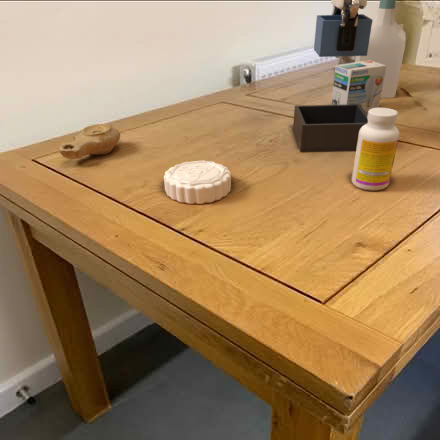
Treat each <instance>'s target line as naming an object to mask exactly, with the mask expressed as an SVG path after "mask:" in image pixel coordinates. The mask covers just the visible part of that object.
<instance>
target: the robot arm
mask: <svg viewBox="0 0 440 440" xmlns="http://www.w3.org/2000/svg"><path fill="white" fill-rule="evenodd" d="M330 3H331V4H332V12H331V15H341V26H339V29H338V37H337V46H336V50H337V51H353V50H354V44H355V37H356V30H357V22H358V14H359V10H364V9H365V8H366V7H367V4H368V0H330ZM345 15H346V17H345Z"/></svg>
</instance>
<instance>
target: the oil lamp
mask: <svg viewBox="0 0 440 440" xmlns="http://www.w3.org/2000/svg"><path fill="white" fill-rule="evenodd" d="M72 137H73V140H72V141H69V142H62V143H60V146H59V147H58V151H59V153H60V155H61V156H62V157H63V158H66V159H70V160H75V159H81V158H83V157H85V156H89V155H95V156H100V155H106V154H109V153H111V152H112V151H113V149H114V148H115V147H116V146H117V145H118V143H119V142H120V139H121V131H119V129H117V128H116V127H115V126H113V125H111V124H106V123H95V124H91V125H88V126H86V127H84V128H82V130H81V132H79V133H78V134H75V135H73V136H72Z"/></svg>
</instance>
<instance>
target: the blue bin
mask: <svg viewBox="0 0 440 440" xmlns="http://www.w3.org/2000/svg"><path fill="white" fill-rule="evenodd" d="M345 17H346V15H345ZM372 22H373V19H372V18H371V17H369V16H367V15H366V14H364V13H358V22H357V30H356V37H355V44H354V50H353V51H337V50H336V46H337V37H338V29H339V26H341V15H332V14H319V15H316V21H315V33H314V43H313V51H315V54H317V56H318V57H319V58H333V57H335V58H336V57H338V56H367V52H368V46H369V39H370V33H371V27H372Z"/></svg>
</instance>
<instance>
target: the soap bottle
mask: <svg viewBox="0 0 440 440" xmlns="http://www.w3.org/2000/svg"><path fill="white" fill-rule="evenodd" d="M396 4H397V0H379V5H378V10H377V14H376V15H375V16H376V17H375V18H374V20H372V27H371V33H370V39H369V46H368V52H367V56H356V57H355V62H361V61H368V60H371V61H374V62H376V63H380V64H383V65H386V71H385V76H384V81H383V87H382V92H381V97H380V99H393V98H395V97H396V95H397V89H398V84H399V79H400V74H401V69H402V63H403V58H404V54H405V50H406V41H407V40H406V39H407V36H406V32H405V30H404V29H403V28H401V27H400V25H399V24H398V23H397V22H396V18H395V15H396V13H395V11H396Z"/></svg>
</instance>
